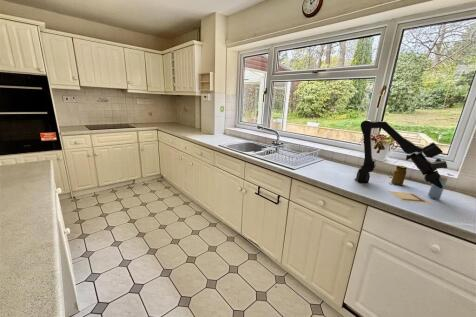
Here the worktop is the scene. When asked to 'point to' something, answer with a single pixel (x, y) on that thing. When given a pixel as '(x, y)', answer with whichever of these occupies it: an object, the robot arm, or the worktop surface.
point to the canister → (437, 188)
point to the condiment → (399, 176)
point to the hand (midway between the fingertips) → (441, 186)
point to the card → (409, 197)
